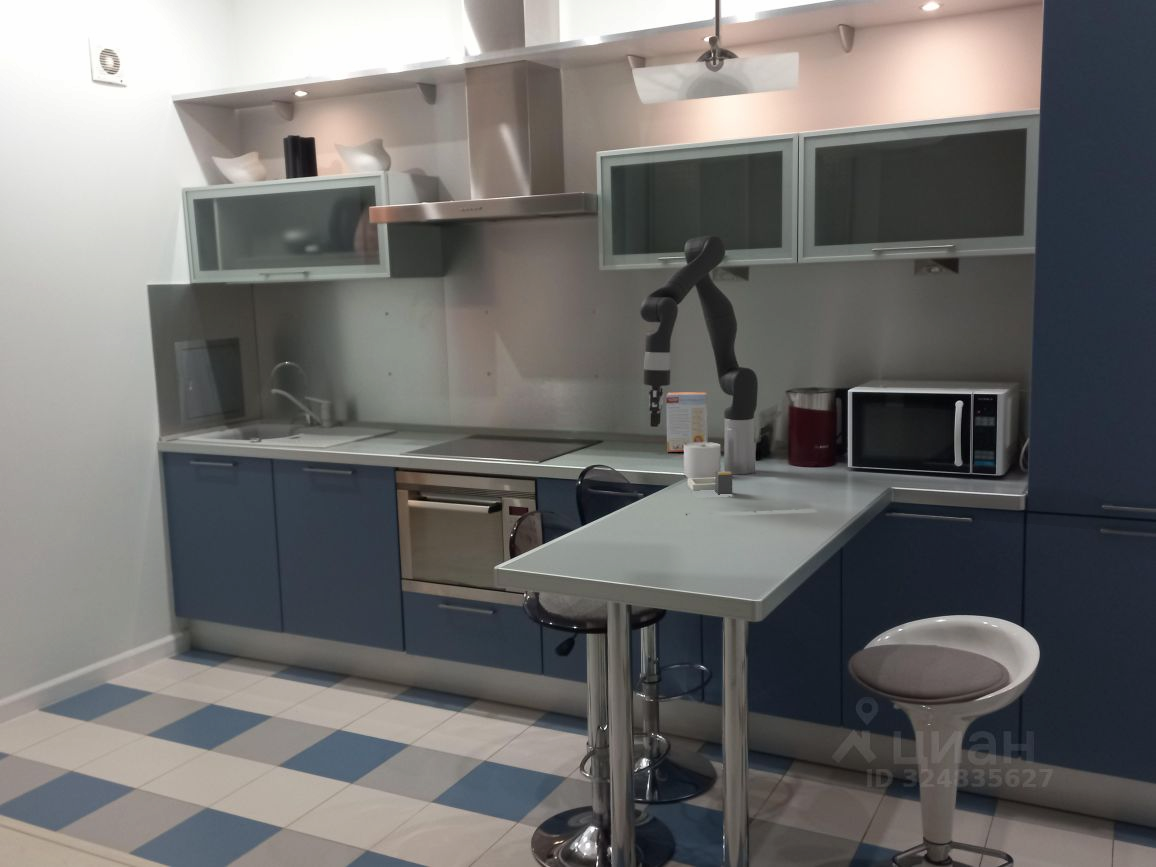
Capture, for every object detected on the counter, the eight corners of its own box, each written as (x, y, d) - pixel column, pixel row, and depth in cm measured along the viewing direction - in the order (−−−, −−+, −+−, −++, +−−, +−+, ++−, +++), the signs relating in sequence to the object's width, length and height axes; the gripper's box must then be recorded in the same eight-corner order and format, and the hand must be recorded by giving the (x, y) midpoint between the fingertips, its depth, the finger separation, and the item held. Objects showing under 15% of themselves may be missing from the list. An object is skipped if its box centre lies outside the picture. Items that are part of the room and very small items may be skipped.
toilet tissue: (718, 480, 314) (718, 448, 313) (679, 479, 317) (679, 447, 315) (722, 473, 324) (722, 442, 323) (684, 472, 327) (684, 441, 326)
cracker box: (707, 450, 364) (707, 391, 360) (707, 453, 358) (706, 393, 355) (668, 450, 366) (667, 391, 363) (666, 453, 361) (666, 393, 357)
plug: (729, 492, 294) (729, 469, 293) (732, 495, 290) (732, 472, 289) (715, 492, 294) (715, 470, 293) (718, 495, 290) (718, 472, 289)
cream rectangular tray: (722, 486, 306) (722, 476, 306) (735, 500, 288) (735, 489, 288) (685, 487, 306) (685, 478, 305) (696, 501, 288) (696, 491, 287)
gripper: (669, 369, 284) (667, 428, 286) (671, 367, 298) (669, 423, 300) (641, 368, 285) (640, 427, 287) (645, 367, 299) (644, 422, 301)
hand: (655, 425), depth 294 cm, fingers open, 8 cm apart
